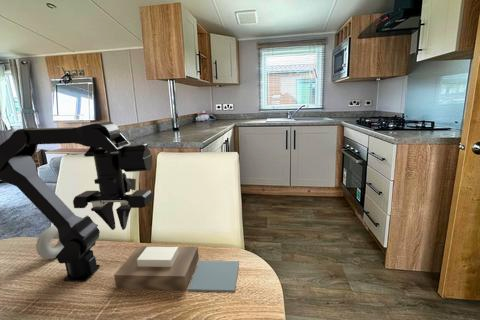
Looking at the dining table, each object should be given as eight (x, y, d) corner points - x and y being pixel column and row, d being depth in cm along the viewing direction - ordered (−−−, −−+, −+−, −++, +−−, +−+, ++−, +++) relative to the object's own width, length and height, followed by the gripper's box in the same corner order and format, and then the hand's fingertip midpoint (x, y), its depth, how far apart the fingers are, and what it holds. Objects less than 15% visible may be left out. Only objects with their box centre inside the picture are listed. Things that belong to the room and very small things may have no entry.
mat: (188, 290, 63) (188, 289, 63) (199, 261, 74) (199, 260, 74) (234, 291, 62) (234, 290, 62) (238, 262, 73) (238, 261, 73)
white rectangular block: (137, 266, 67) (136, 259, 66) (147, 253, 73) (146, 246, 72) (171, 266, 66) (170, 260, 66) (178, 253, 72) (178, 246, 71)
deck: (116, 288, 65) (113, 275, 64) (140, 258, 77) (138, 246, 76) (186, 290, 63) (184, 276, 62) (198, 258, 76) (197, 246, 75)
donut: (45, 266, 75) (37, 235, 73) (37, 265, 76) (29, 234, 74) (76, 248, 84) (70, 220, 82) (68, 246, 85) (62, 219, 83)
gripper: (158, 163, 72) (164, 215, 75) (94, 165, 73) (103, 216, 77) (139, 175, 61) (147, 235, 64) (66, 176, 63) (77, 234, 66)
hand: (118, 229), depth 68 cm, fingers open, 3 cm apart
